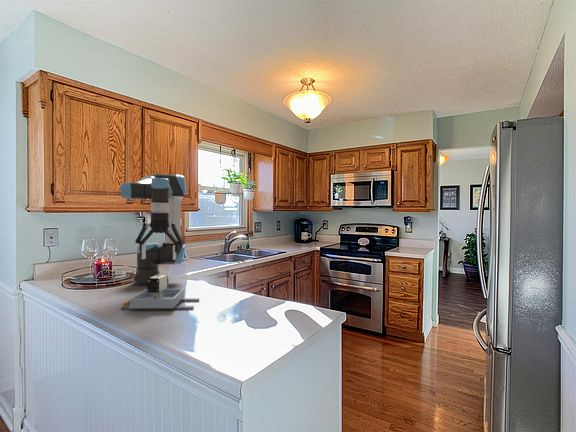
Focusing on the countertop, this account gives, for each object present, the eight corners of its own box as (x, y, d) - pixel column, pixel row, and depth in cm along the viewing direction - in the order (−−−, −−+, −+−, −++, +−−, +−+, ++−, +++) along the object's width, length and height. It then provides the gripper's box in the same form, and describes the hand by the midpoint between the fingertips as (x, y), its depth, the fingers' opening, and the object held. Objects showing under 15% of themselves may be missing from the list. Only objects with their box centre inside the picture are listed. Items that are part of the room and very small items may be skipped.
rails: (133, 300, 146) (133, 296, 146) (199, 300, 148) (199, 296, 148) (119, 309, 132) (119, 305, 132) (192, 309, 134) (193, 305, 134)
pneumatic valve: (168, 297, 146) (169, 271, 146) (156, 304, 134) (157, 276, 134) (157, 296, 146) (157, 271, 146) (144, 303, 134) (144, 276, 134)
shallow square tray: (145, 296, 148) (146, 288, 148) (184, 296, 150) (184, 288, 150) (129, 308, 130) (129, 299, 130) (173, 308, 132) (173, 299, 132)
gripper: (127, 211, 135) (127, 260, 136) (185, 213, 137) (185, 260, 138) (134, 211, 143) (134, 257, 143) (189, 212, 144) (189, 258, 145)
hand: (159, 259), depth 140 cm, fingers open, 13 cm apart
